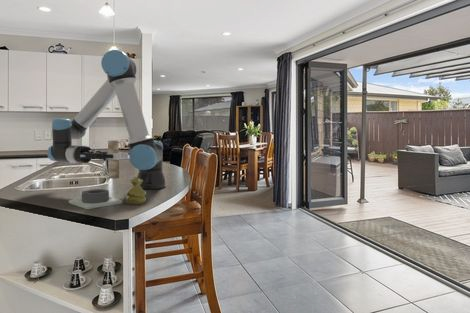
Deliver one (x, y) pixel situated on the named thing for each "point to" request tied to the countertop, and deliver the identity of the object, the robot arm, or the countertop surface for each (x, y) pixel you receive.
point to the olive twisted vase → (136, 192)
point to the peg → (113, 164)
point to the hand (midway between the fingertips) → (124, 156)
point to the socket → (95, 199)
